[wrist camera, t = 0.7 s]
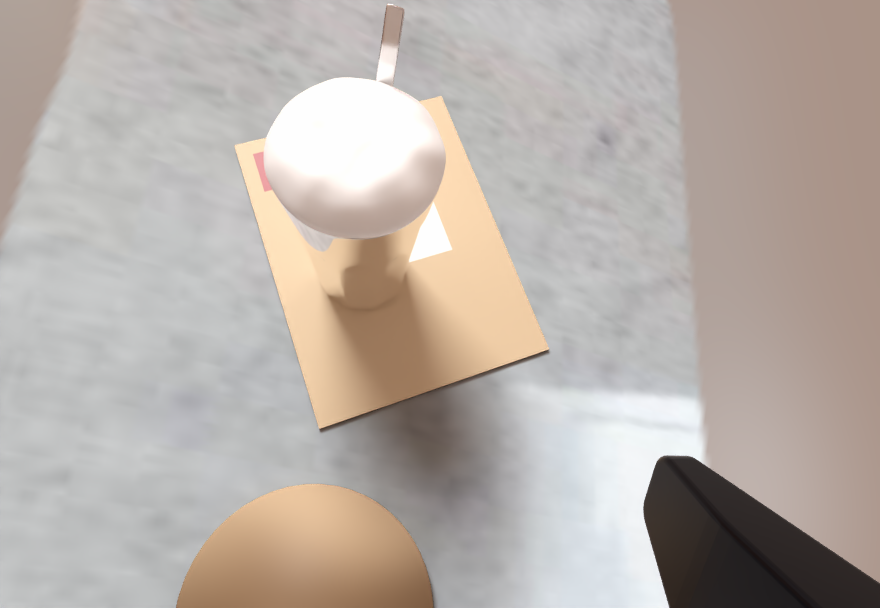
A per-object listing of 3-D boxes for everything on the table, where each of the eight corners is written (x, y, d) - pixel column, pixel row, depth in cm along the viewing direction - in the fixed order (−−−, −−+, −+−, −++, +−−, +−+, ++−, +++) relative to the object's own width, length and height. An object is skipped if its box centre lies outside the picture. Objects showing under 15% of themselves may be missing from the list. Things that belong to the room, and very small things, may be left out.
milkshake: (442, 221, 23) (486, 34, 14) (400, 344, 22) (419, 223, 12) (335, 187, 23) (307, -24, 14) (284, 306, 22) (214, 157, 12)
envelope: (548, 349, 22) (549, 349, 22) (319, 429, 20) (318, 428, 20) (441, 97, 26) (441, 96, 25) (234, 146, 24) (234, 145, 24)
